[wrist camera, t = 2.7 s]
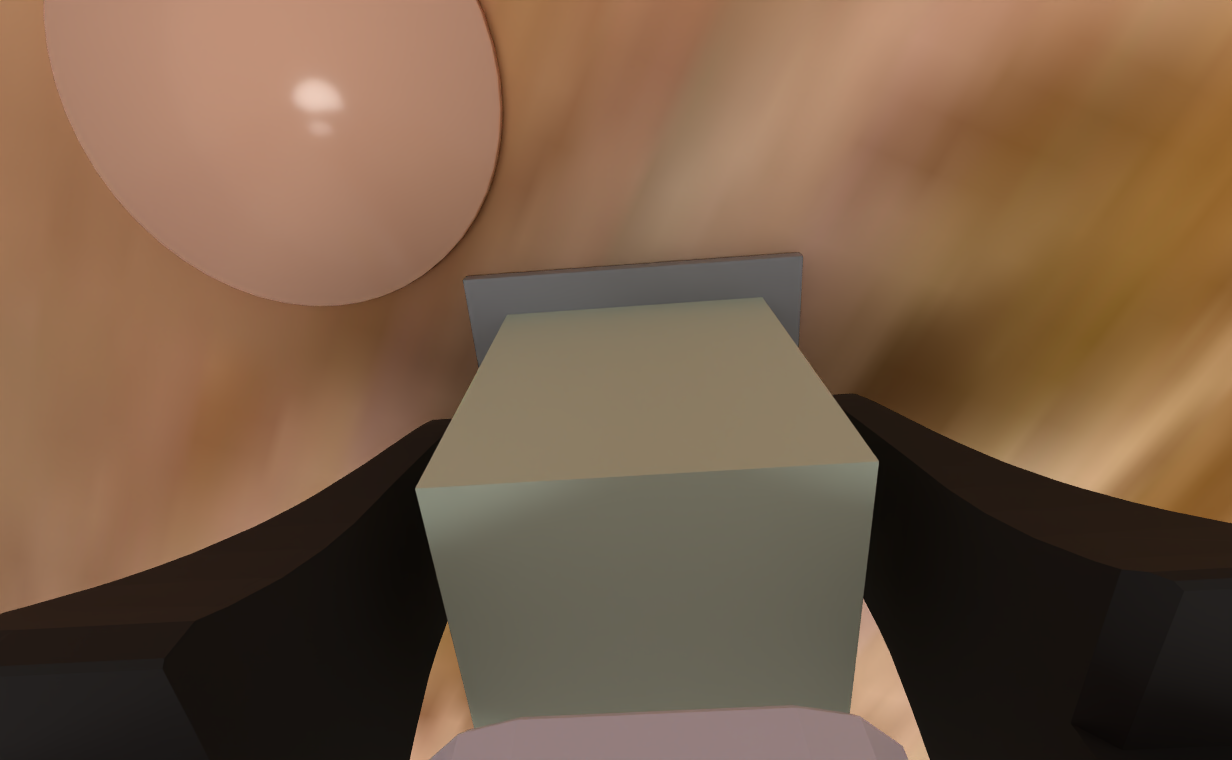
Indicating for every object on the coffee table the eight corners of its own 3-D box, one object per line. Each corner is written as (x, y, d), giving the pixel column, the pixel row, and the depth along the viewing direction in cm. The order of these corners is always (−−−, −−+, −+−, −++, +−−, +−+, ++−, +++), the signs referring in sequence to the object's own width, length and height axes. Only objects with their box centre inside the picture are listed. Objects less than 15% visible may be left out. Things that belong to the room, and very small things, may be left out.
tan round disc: (162, 312, 13) (148, 319, 12) (-20, -153, 10) (-46, -164, 9) (528, 286, 12) (526, 292, 12) (462, -203, 9) (455, -215, 9)
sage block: (539, 521, 14) (487, 783, 9) (506, 314, 12) (415, 489, 7) (757, 509, 14) (843, 768, 9) (762, 297, 12) (878, 461, 7)
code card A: (513, 540, 15) (511, 549, 15) (466, 276, 12) (462, 280, 12) (786, 525, 15) (789, 533, 14) (799, 252, 12) (802, 256, 12)
